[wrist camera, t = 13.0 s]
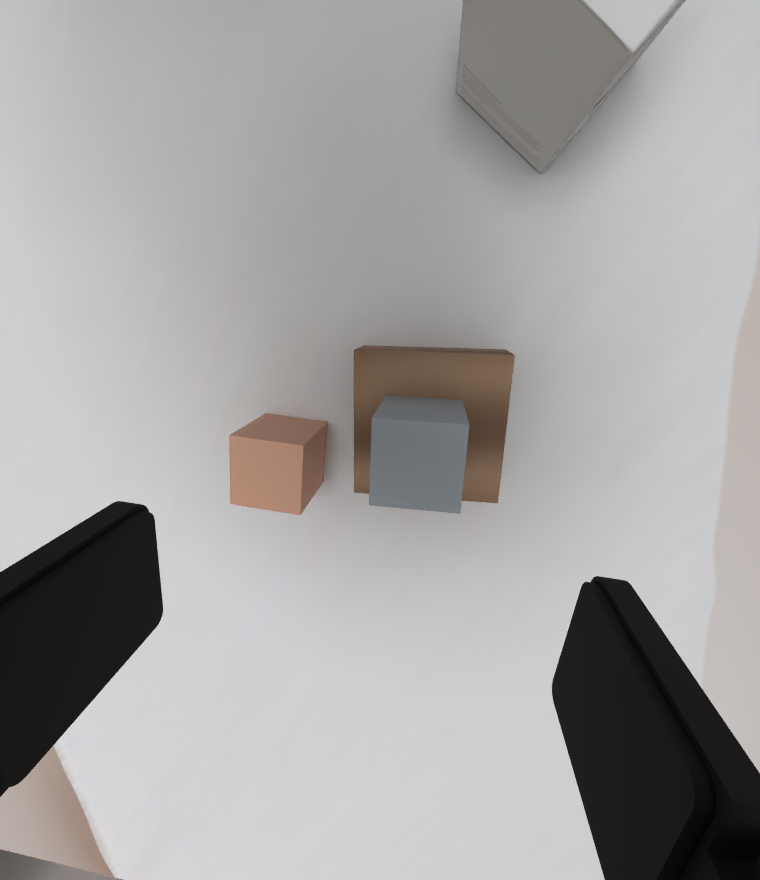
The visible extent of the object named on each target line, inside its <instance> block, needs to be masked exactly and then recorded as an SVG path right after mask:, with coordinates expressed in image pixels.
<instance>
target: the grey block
mask: <svg viewBox="0 0 760 880" xmlns="http://www.w3.org/2000/svg"><path fill="white" fill-rule="evenodd" d="M468 434H469V421H468V418H467V414H466V410H465V407H464V403H463V400H454V399H438V398H421V397H405V396H389V395H385V397H384V399H383V400H382V402H381V404H380V405H379V407H378V409H377V410H376V412H375V414H374V415H373V417H372V427H371V461H370V494H369V505H374V506H385V507H396V508H407V509H418V510H428V511H439V512H450V513H460V510H461V501H462V491H463V482H464V472H465V463H466V453H467V444H468Z"/></svg>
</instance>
